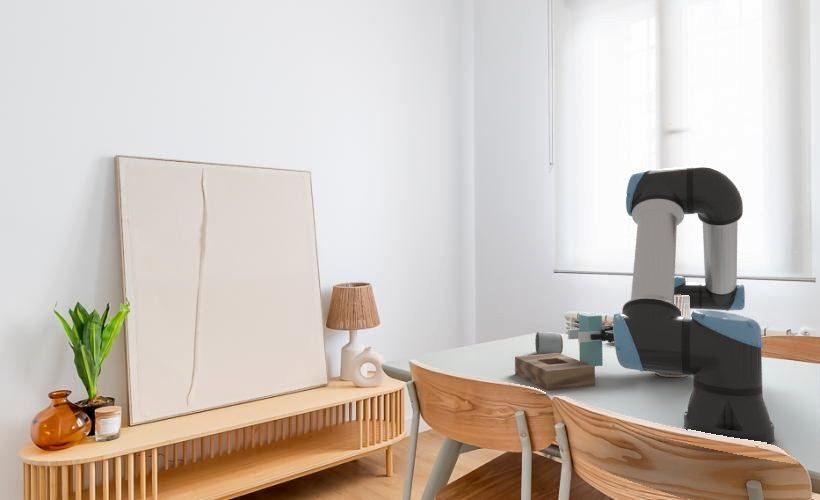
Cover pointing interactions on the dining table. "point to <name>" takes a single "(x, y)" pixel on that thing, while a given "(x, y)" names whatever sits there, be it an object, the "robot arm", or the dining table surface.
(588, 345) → the teal peg
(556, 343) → the gray can
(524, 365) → the socket block
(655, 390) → the dining table surface
